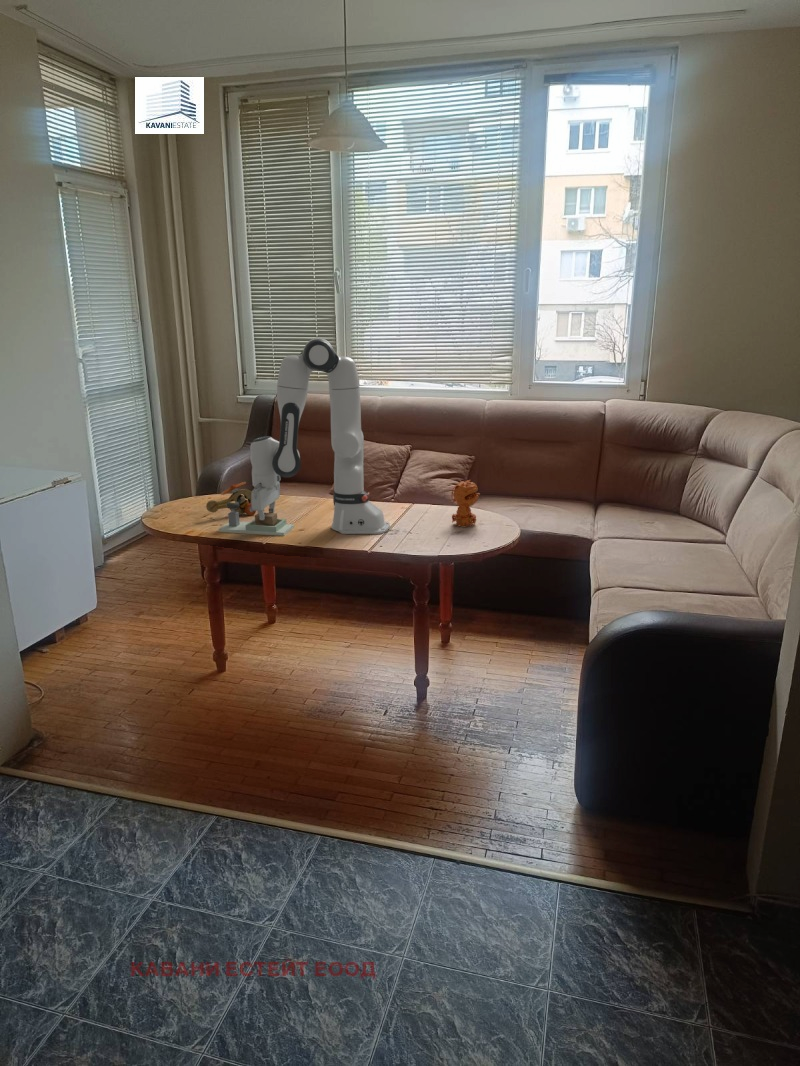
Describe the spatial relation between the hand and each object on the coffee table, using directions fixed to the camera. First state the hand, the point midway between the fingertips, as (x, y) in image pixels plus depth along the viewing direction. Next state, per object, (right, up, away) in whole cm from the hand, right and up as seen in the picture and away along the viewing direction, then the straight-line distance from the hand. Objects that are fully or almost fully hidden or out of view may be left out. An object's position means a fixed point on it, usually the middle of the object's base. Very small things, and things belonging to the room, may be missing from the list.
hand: (267, 516), depth 270 cm
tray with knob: (-4, -5, +2) cm, 7 cm away
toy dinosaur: (+75, -3, +8) cm, 76 cm away
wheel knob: (-13, 0, +3) cm, 14 cm away
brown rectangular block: (-1, -4, +1) cm, 4 cm away
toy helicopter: (-17, 0, +21) cm, 27 cm away
